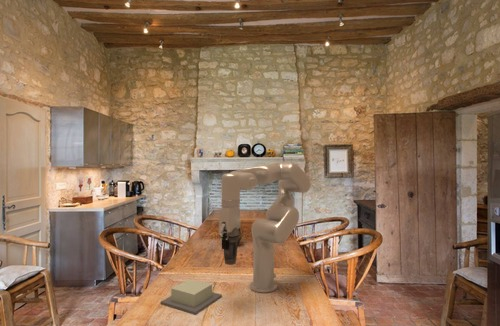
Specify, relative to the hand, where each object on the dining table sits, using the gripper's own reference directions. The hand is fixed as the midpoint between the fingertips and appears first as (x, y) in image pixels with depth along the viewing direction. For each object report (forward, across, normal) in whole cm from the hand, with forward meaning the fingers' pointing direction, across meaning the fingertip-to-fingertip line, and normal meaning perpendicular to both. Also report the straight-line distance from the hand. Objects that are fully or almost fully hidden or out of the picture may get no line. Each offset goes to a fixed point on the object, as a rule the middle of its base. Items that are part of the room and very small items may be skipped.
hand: (230, 246), depth 134 cm
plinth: (+24, +6, -15) cm, 29 cm away
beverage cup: (+7, 0, 0) cm, 7 cm away
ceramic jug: (+24, -74, -45) cm, 90 cm away
